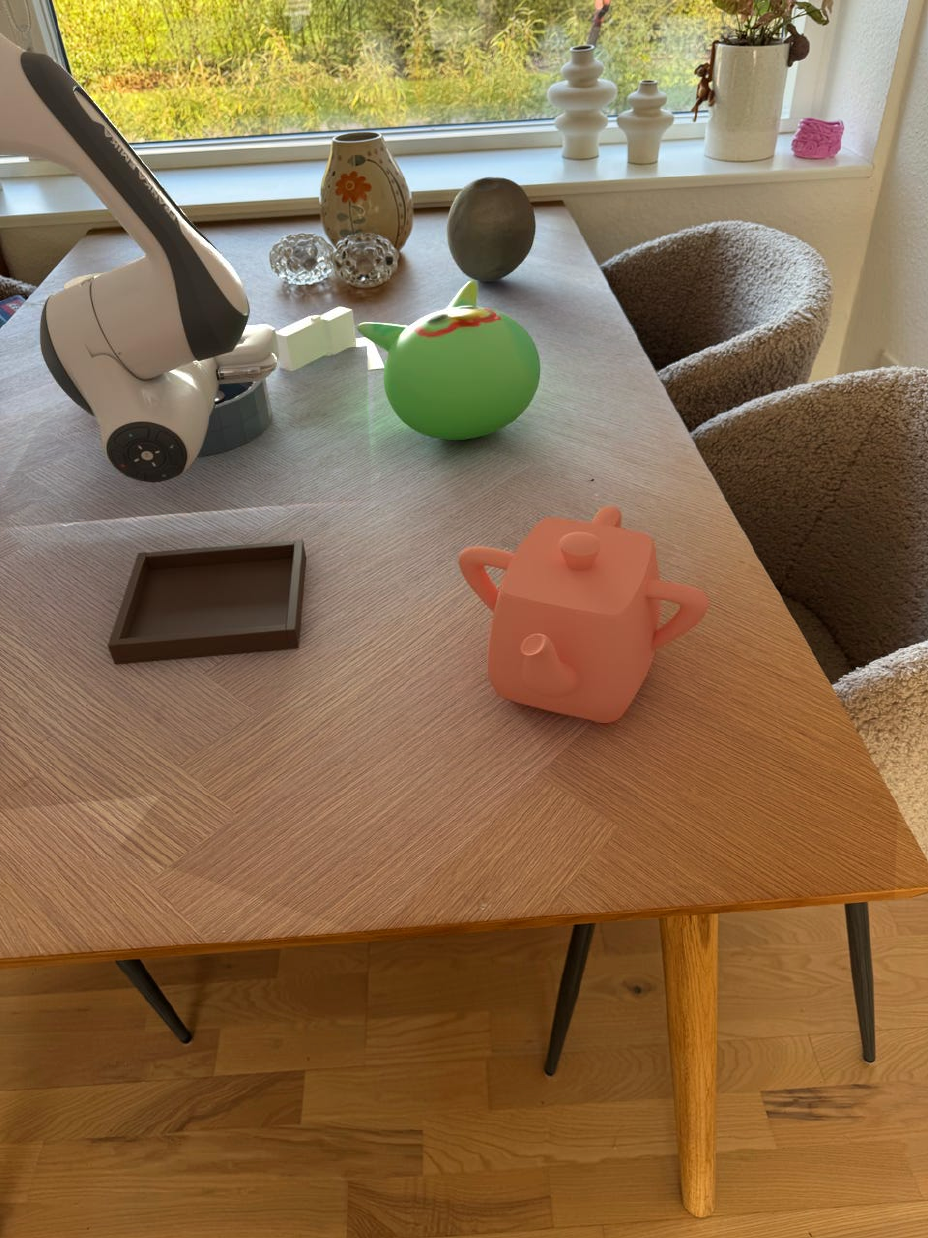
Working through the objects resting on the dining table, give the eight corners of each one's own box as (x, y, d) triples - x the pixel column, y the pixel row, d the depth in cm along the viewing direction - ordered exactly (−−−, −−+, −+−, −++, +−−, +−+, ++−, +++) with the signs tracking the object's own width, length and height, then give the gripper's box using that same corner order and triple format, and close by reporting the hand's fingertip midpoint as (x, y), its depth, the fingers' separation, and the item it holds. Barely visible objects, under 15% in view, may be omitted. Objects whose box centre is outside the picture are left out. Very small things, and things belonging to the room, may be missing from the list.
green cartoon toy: (435, 480, 100) (426, 349, 90) (360, 422, 111) (346, 301, 101) (566, 431, 107) (570, 306, 98) (484, 382, 118) (481, 265, 109)
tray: (114, 664, 78) (107, 645, 77) (143, 570, 89) (138, 552, 87) (298, 648, 79) (295, 629, 77) (306, 557, 89) (303, 539, 88)
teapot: (603, 596, 83) (612, 467, 74) (715, 704, 71) (739, 567, 63) (434, 655, 77) (423, 524, 69) (526, 783, 66) (526, 644, 58)
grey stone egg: (433, 290, 144) (427, 188, 135) (468, 262, 154) (465, 164, 145) (518, 300, 140) (518, 194, 130) (548, 269, 150) (550, 169, 140)
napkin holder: (273, 384, 120) (265, 341, 117) (265, 350, 129) (257, 310, 125) (385, 367, 123) (381, 325, 119) (370, 335, 132) (366, 295, 128)
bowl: (119, 467, 105) (104, 419, 101) (146, 402, 118) (133, 357, 114) (266, 456, 105) (257, 407, 102) (277, 392, 118) (268, 347, 114)
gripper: (269, 343, 94) (279, 294, 104) (66, 358, 93) (96, 307, 104) (280, 400, 98) (288, 348, 108) (85, 415, 97) (112, 360, 108)
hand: (193, 328), depth 106 cm, fingers closed on ladle, 2 cm apart
